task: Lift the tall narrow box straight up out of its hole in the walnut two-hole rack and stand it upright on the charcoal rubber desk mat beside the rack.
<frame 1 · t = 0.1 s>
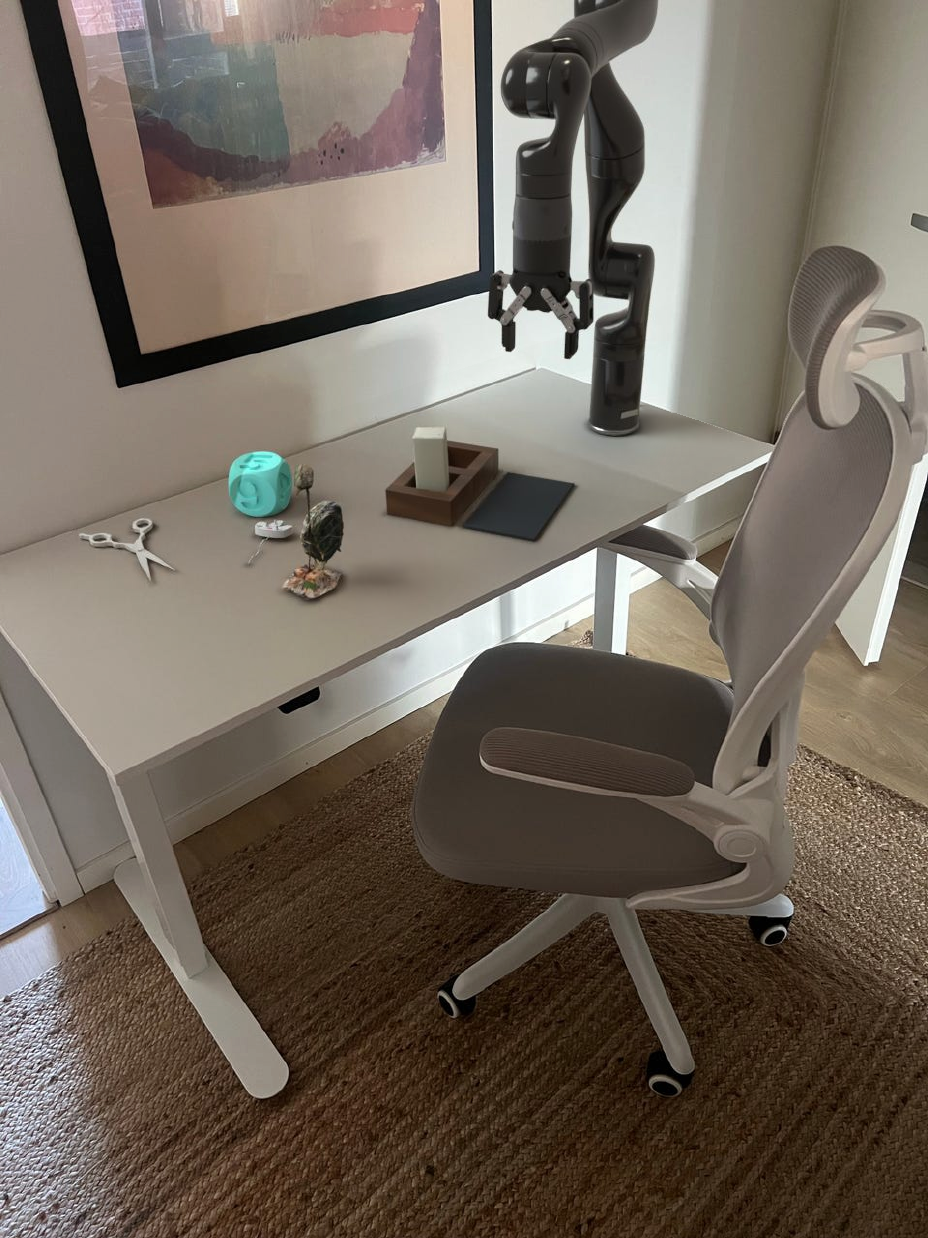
hand: (539, 353, 136), 29 cm above the table, tool pointing down, fingers open, 8 cm apart
decorative dice: (264, 506, 163), on the table
scissors: (137, 553, 151), on the table
plant with pod: (318, 582, 144), on the table
game controller: (264, 546, 152), on the table
box: (433, 505, 162), resting in rack
mat: (520, 506, 161), on the table
rack: (444, 492, 166), on the table
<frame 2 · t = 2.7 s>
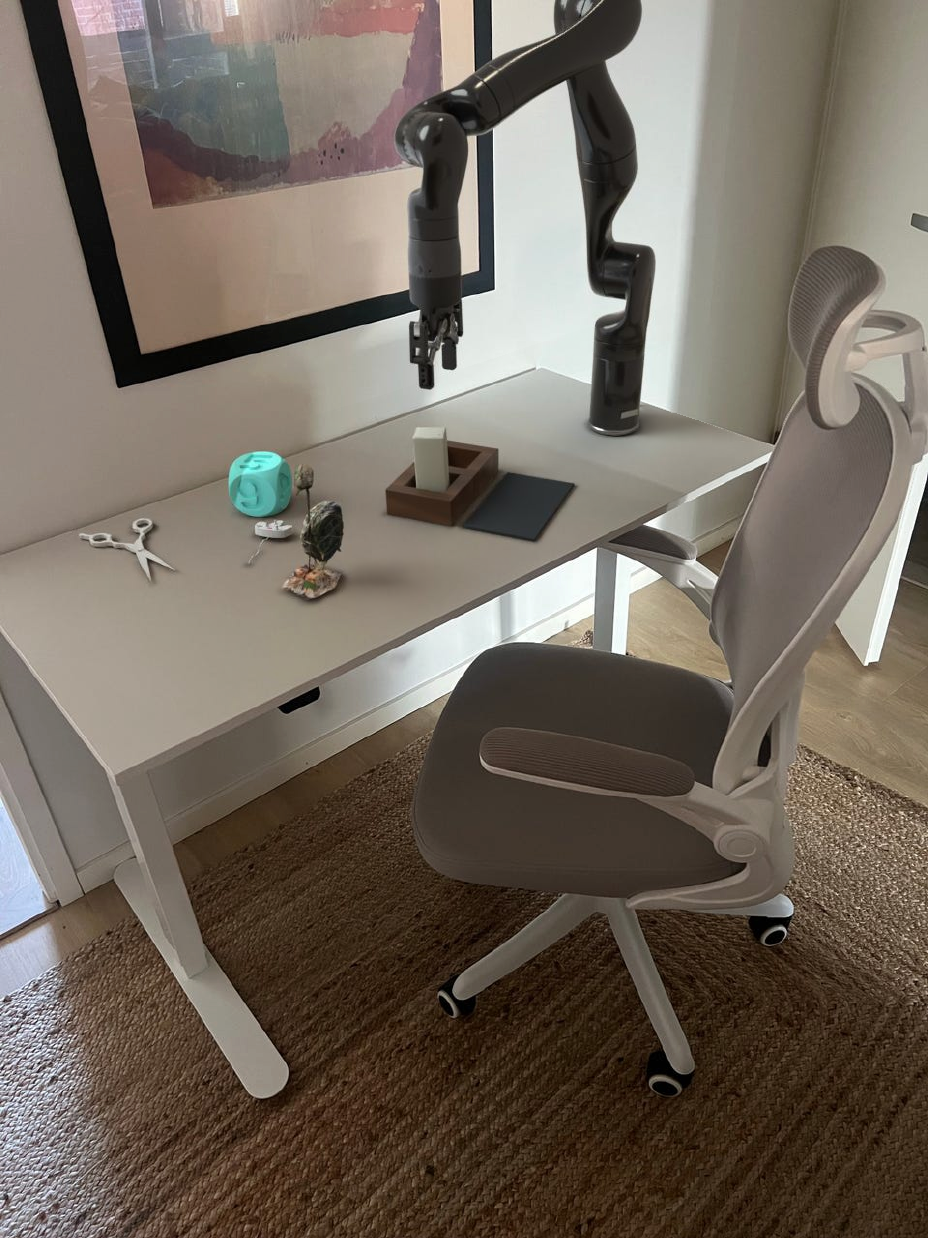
hand: (438, 378, 149), 22 cm above the table, tool pointing down, fingers open, 8 cm apart
nothing on the table moved.
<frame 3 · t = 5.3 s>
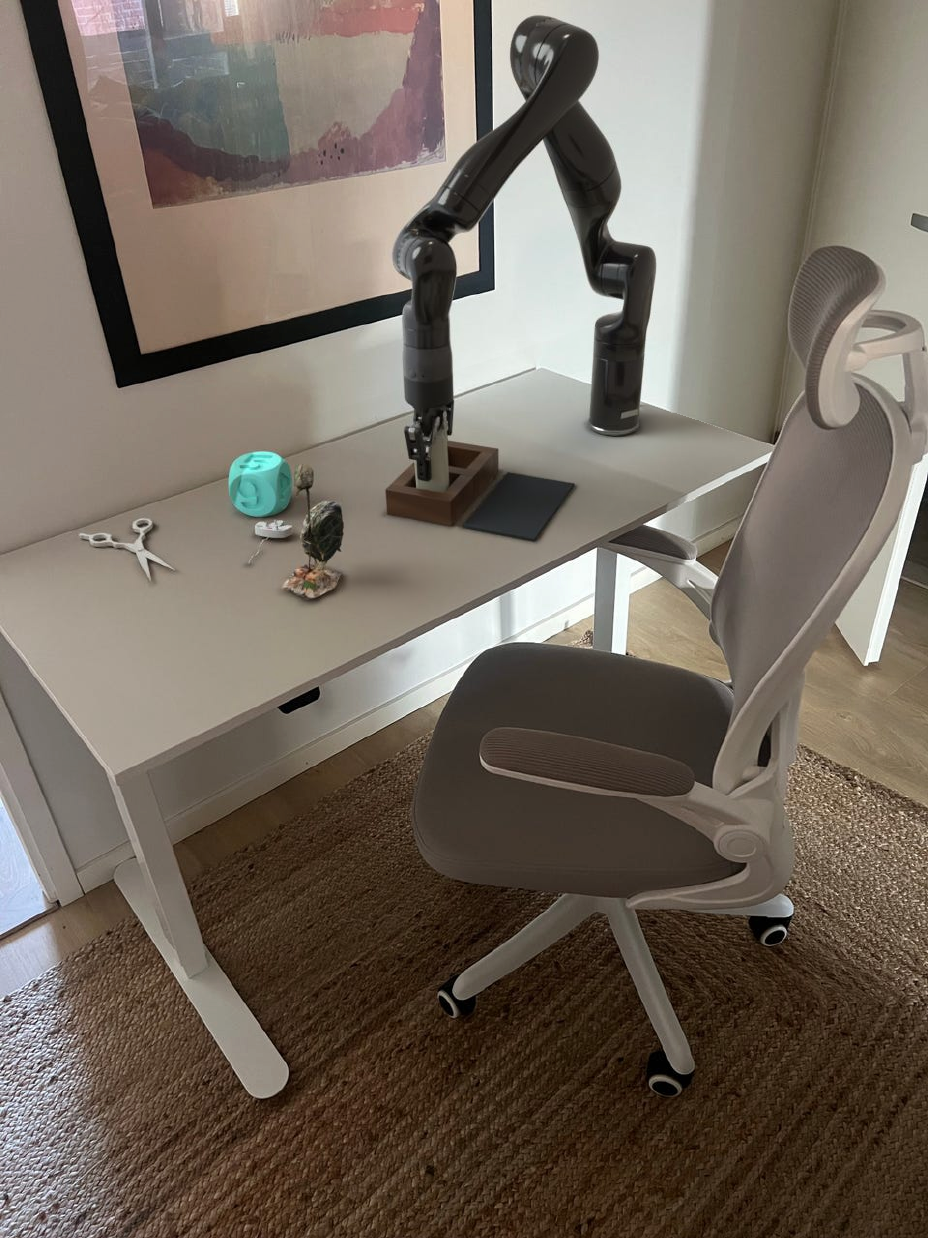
hand: (432, 471, 159), 6 cm above the table, tool pointing down, fingers closed on box, 5 cm apart
box: (433, 505, 162), resting in rack, touching gripper
everything else where it was.
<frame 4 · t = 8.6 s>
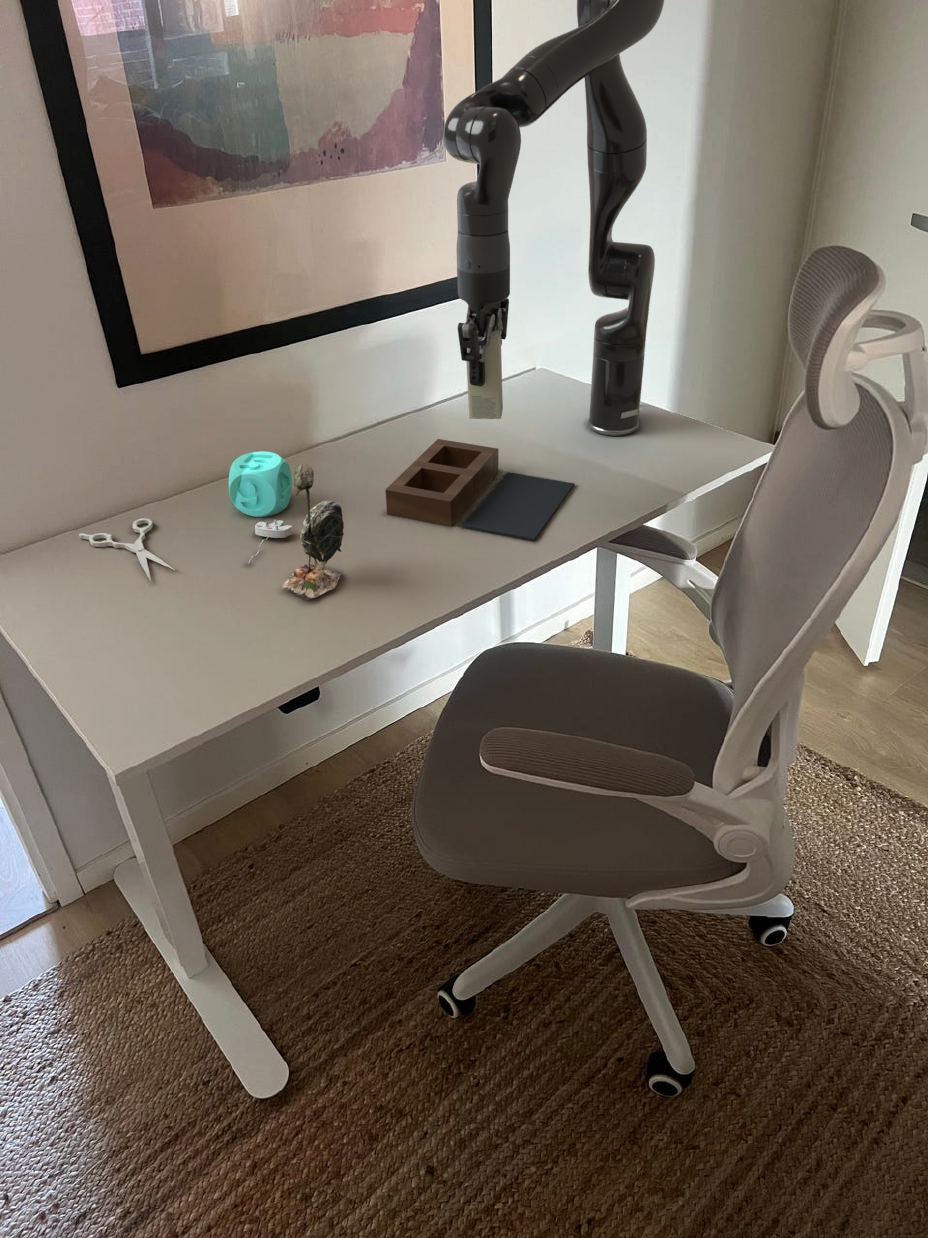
hand: (484, 377, 149), 22 cm above the table, tool pointing down, fingers closed on box, 5 cm apart
box: (485, 415, 153), point 16 cm above the table, touching gripper
everything else where it was.
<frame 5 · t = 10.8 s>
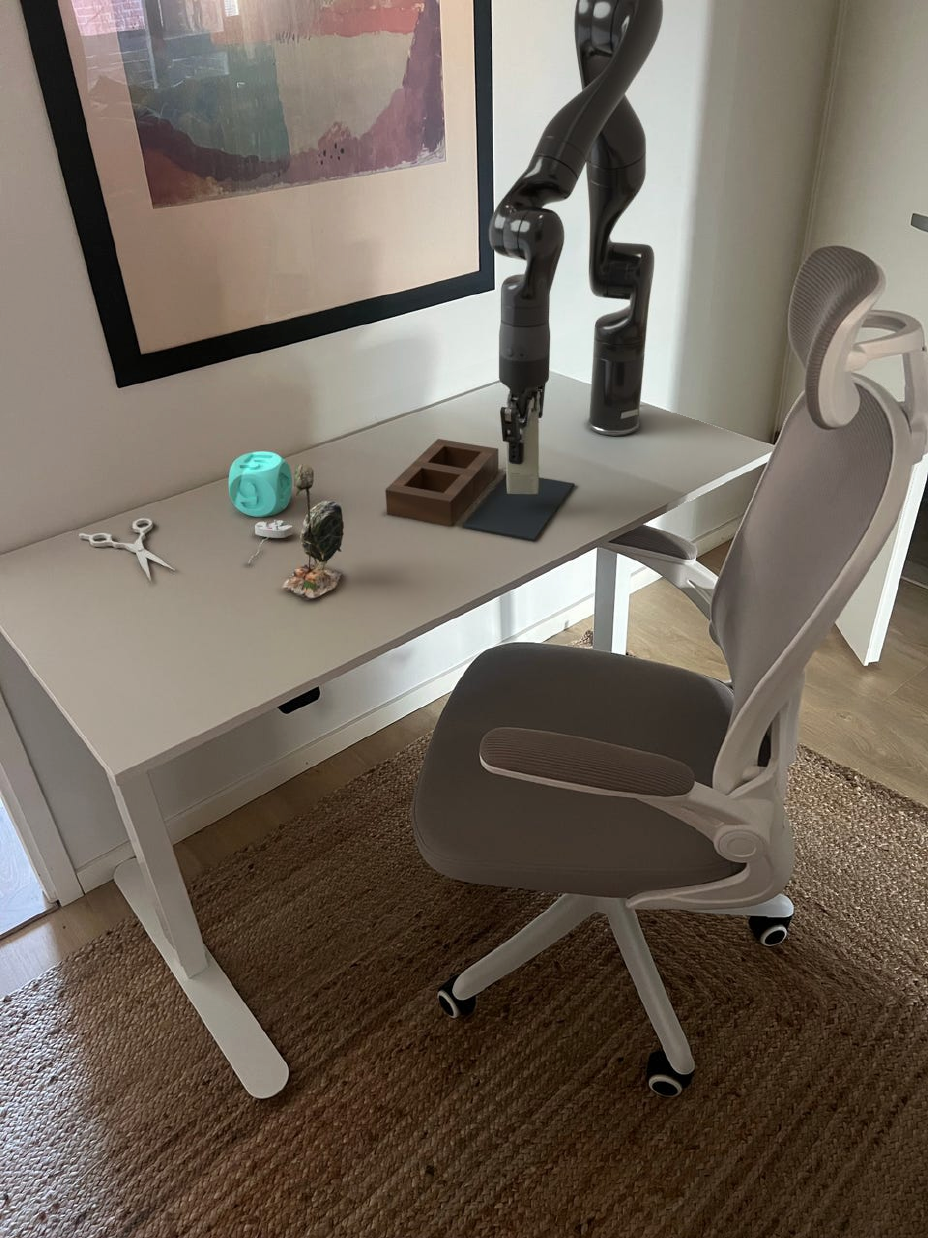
hand: (522, 455, 155), 10 cm above the table, tool pointing down, fingers closed on box, 5 cm apart
box: (521, 490, 158), point 4 cm above the table, touching gripper
everything else where it was.
when the fingers open (6 cm above the table, at t = 12.2 s): box stays where it is, resting on mat.
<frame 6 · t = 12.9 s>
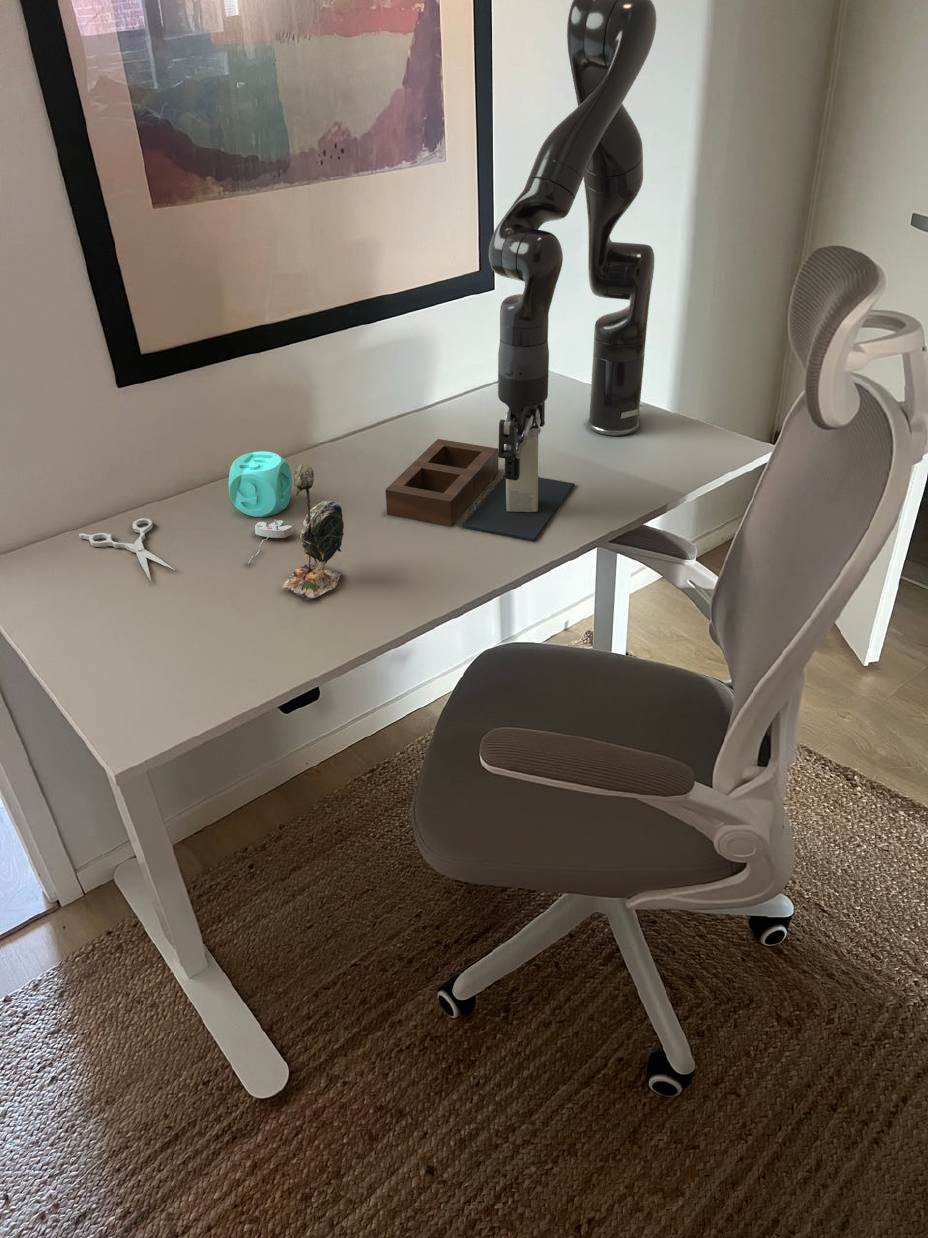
hand: (521, 467, 156), 7 cm above the table, tool pointing down, fingers open, 8 cm apart
box: (521, 507, 160), resting on mat
everything else where it was.
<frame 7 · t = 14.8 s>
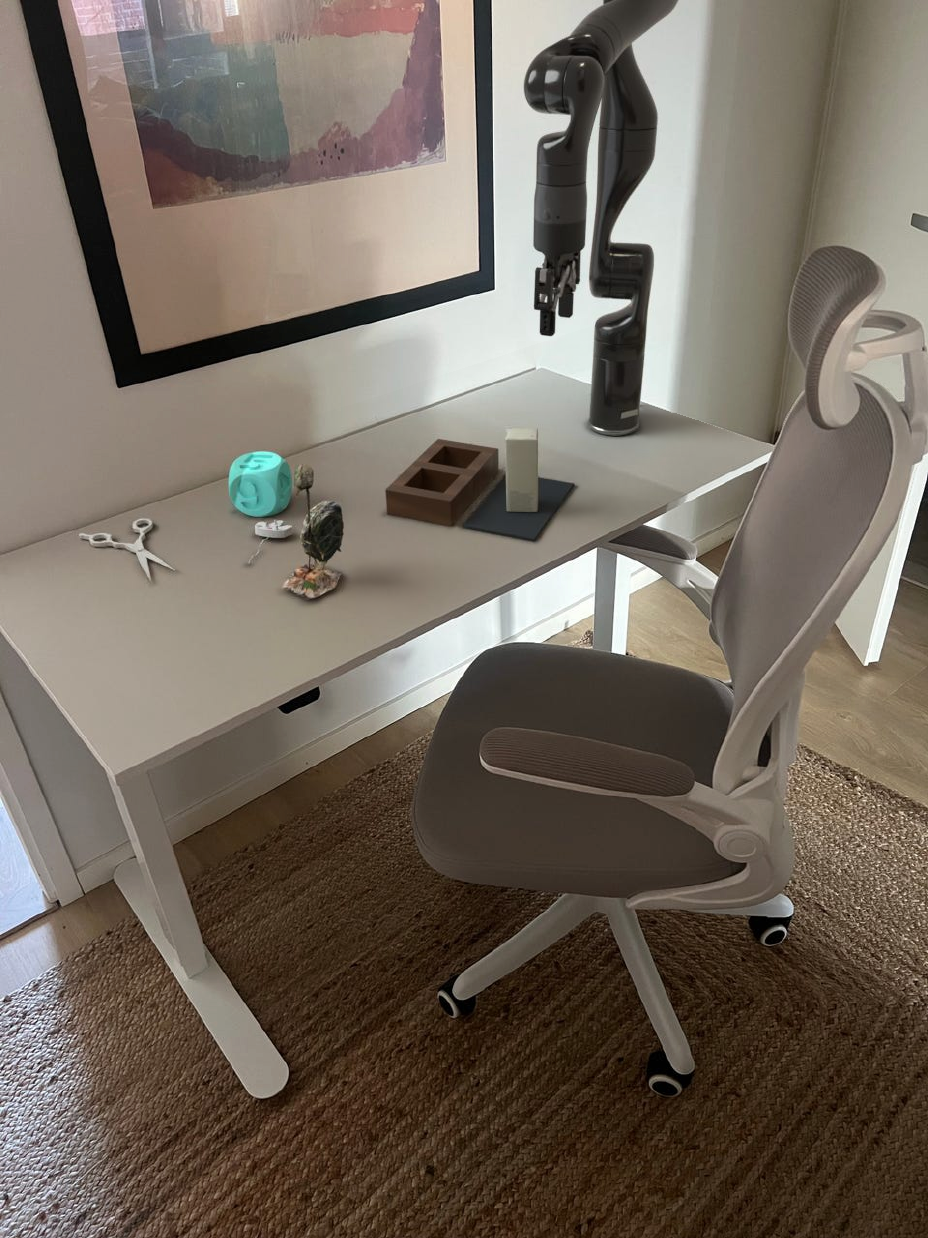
hand: (556, 325, 151), 28 cm above the table, tool pointing down, fingers open, 8 cm apart
nothing on the table moved.
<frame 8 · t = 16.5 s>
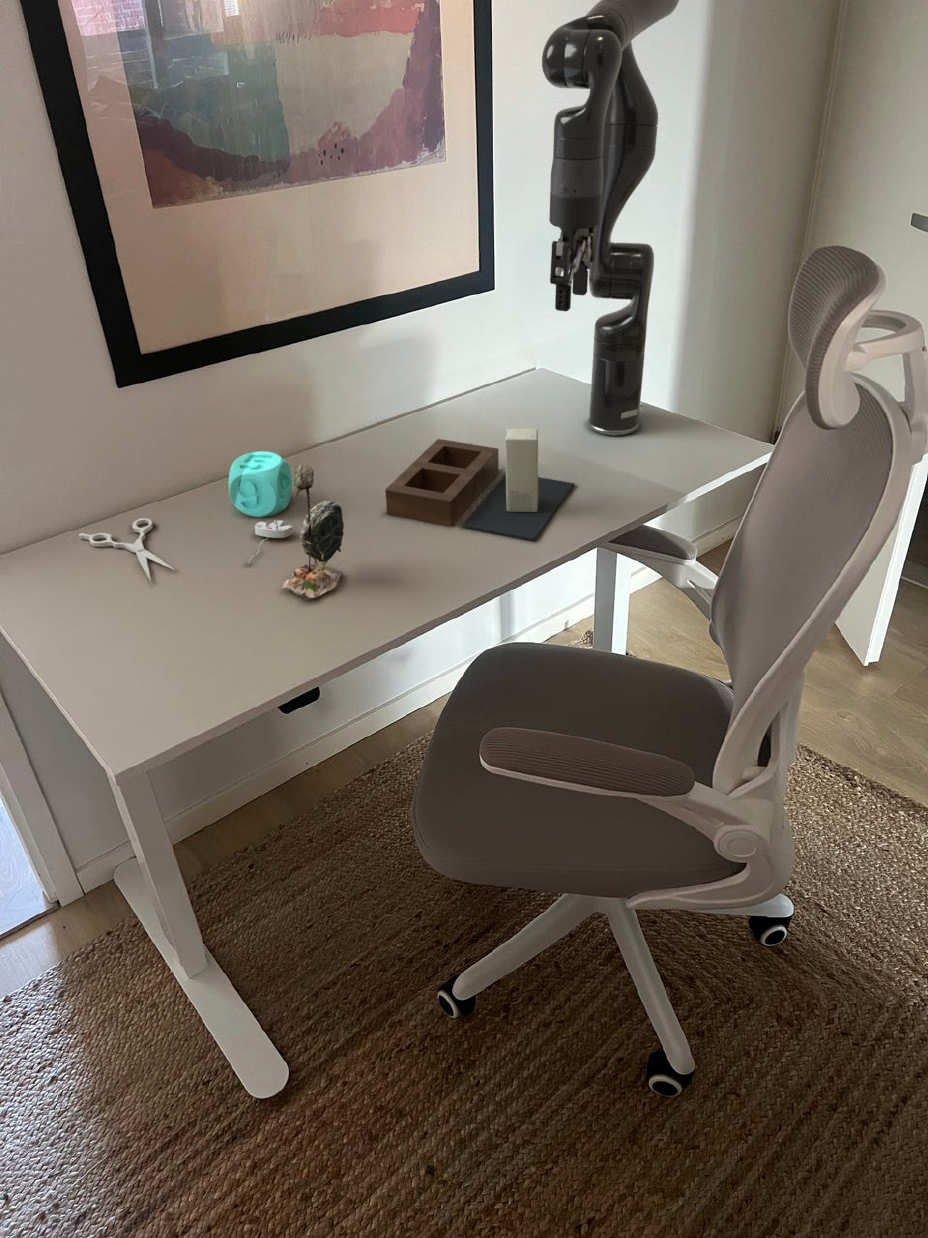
hand: (571, 301, 152), 30 cm above the table, tool pointing down, fingers open, 8 cm apart
nothing on the table moved.
at the end: box inside the target area on the mat (1.2 cm from its centre), point 0.3 cm above the mat's base; box tilted 0°; the gripper is holding nothing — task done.
